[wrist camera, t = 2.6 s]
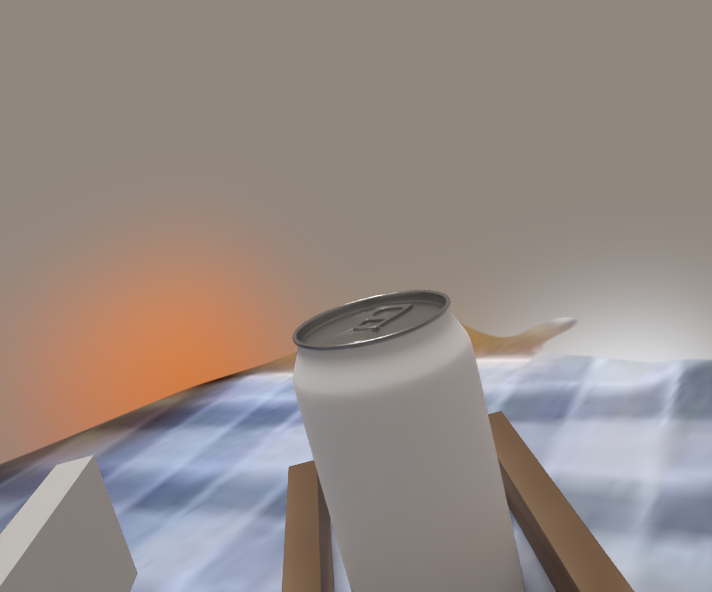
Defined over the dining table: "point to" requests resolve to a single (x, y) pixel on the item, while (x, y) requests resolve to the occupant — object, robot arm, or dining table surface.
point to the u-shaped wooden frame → (524, 497)
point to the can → (405, 447)
